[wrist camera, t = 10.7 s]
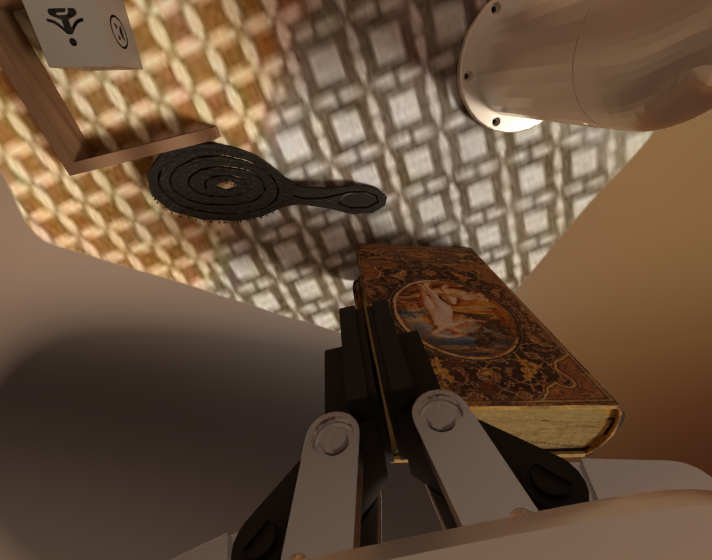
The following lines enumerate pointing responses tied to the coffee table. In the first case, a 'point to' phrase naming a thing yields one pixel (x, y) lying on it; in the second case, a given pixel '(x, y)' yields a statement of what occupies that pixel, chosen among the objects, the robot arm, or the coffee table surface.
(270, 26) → the coffee table surface
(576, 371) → the book
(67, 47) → the dice cube
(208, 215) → the hairbrush
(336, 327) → the coffee table surface
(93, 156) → the box
